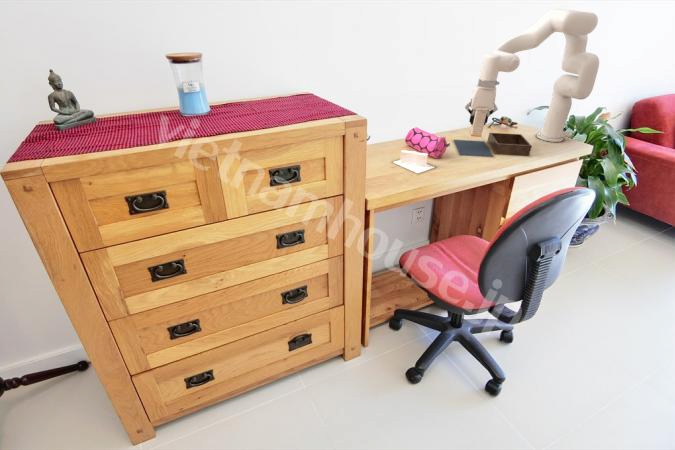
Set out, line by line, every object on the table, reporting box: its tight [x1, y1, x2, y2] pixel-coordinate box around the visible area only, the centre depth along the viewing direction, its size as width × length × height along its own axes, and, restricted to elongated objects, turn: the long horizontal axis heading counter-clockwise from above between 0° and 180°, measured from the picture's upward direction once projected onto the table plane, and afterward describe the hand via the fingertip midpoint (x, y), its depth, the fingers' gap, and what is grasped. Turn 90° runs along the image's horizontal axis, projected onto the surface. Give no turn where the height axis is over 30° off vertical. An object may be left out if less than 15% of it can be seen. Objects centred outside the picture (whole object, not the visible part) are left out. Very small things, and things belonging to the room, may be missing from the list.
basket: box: [486, 132, 533, 157], centre depth 181 cm, size 16×17×5 cm
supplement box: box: [469, 108, 487, 138], centre depth 175 cm, size 8×5×13 cm, turn 168°
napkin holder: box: [392, 149, 435, 174], centre depth 162 cm, size 15×11×6 cm
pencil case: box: [404, 126, 451, 159], centre depth 175 cm, size 21×10×10 cm, turn 35°
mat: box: [453, 139, 494, 158], centre depth 182 cm, size 15×20×1 cm
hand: (477, 123), depth 175 cm, fingers closed on supplement box, 5 cm apart
